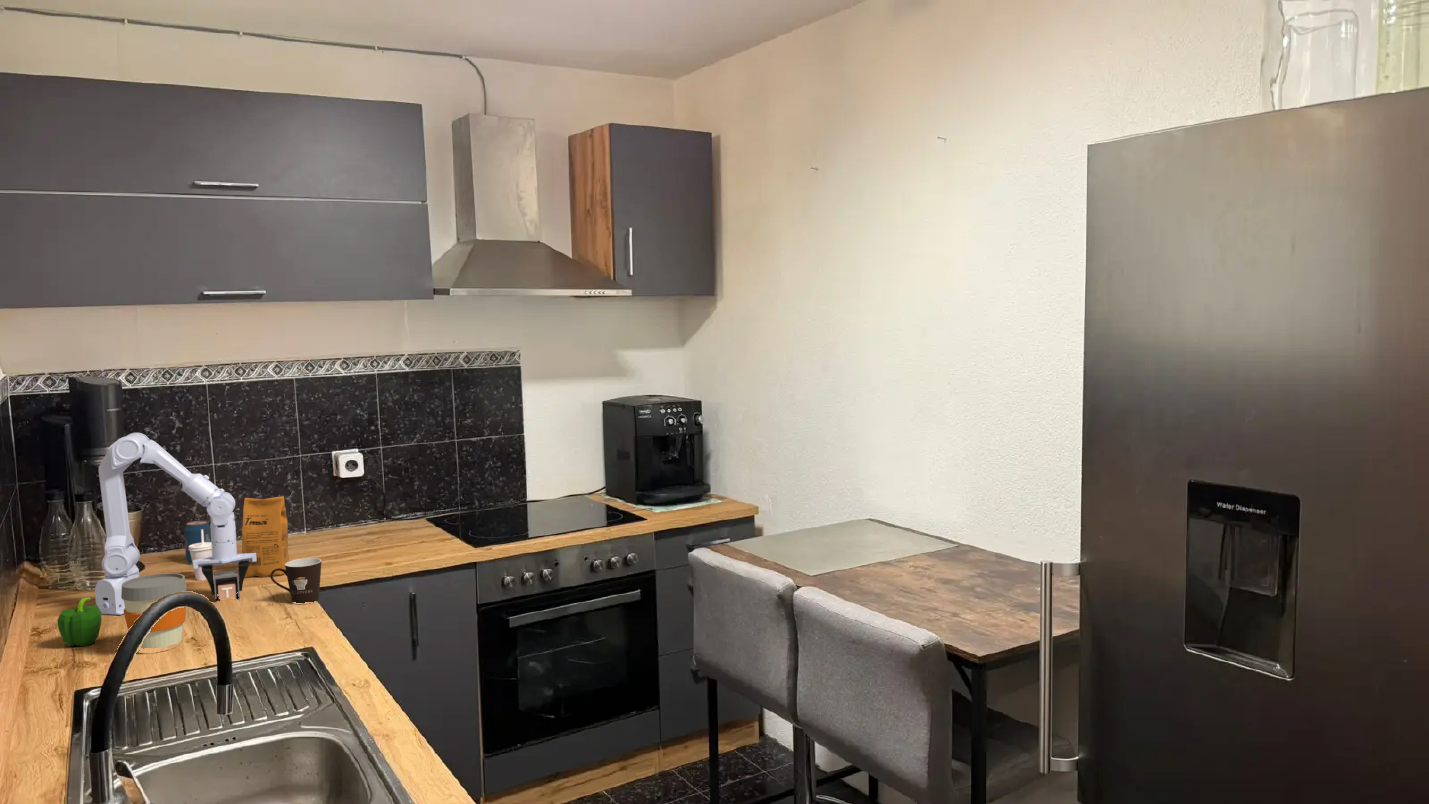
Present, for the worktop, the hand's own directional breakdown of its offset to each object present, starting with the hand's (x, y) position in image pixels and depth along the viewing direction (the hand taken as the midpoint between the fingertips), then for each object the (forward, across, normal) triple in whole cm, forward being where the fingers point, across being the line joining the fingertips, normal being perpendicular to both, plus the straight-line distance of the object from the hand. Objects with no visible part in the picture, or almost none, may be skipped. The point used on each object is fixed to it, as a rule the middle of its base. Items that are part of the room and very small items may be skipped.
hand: (227, 591), depth 246 cm
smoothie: (+2, -6, +24) cm, 25 cm away
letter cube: (+2, 0, 0) cm, 2 cm away
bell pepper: (+2, -29, -22) cm, 37 cm away
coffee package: (+2, +10, +22) cm, 24 cm away
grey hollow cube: (+2, 0, 0) cm, 2 cm away
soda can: (+2, -7, +46) cm, 47 cm away
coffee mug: (+2, +16, -12) cm, 21 cm away
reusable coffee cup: (+2, -14, -34) cm, 37 cm away
